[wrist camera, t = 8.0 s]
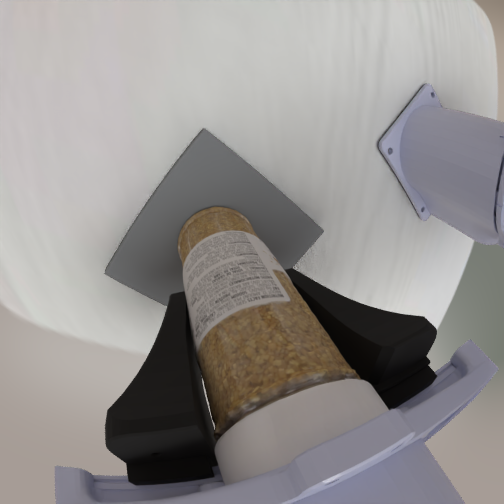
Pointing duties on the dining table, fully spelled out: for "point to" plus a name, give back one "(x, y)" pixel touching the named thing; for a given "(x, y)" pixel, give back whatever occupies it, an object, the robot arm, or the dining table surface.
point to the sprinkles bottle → (262, 351)
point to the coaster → (200, 198)
